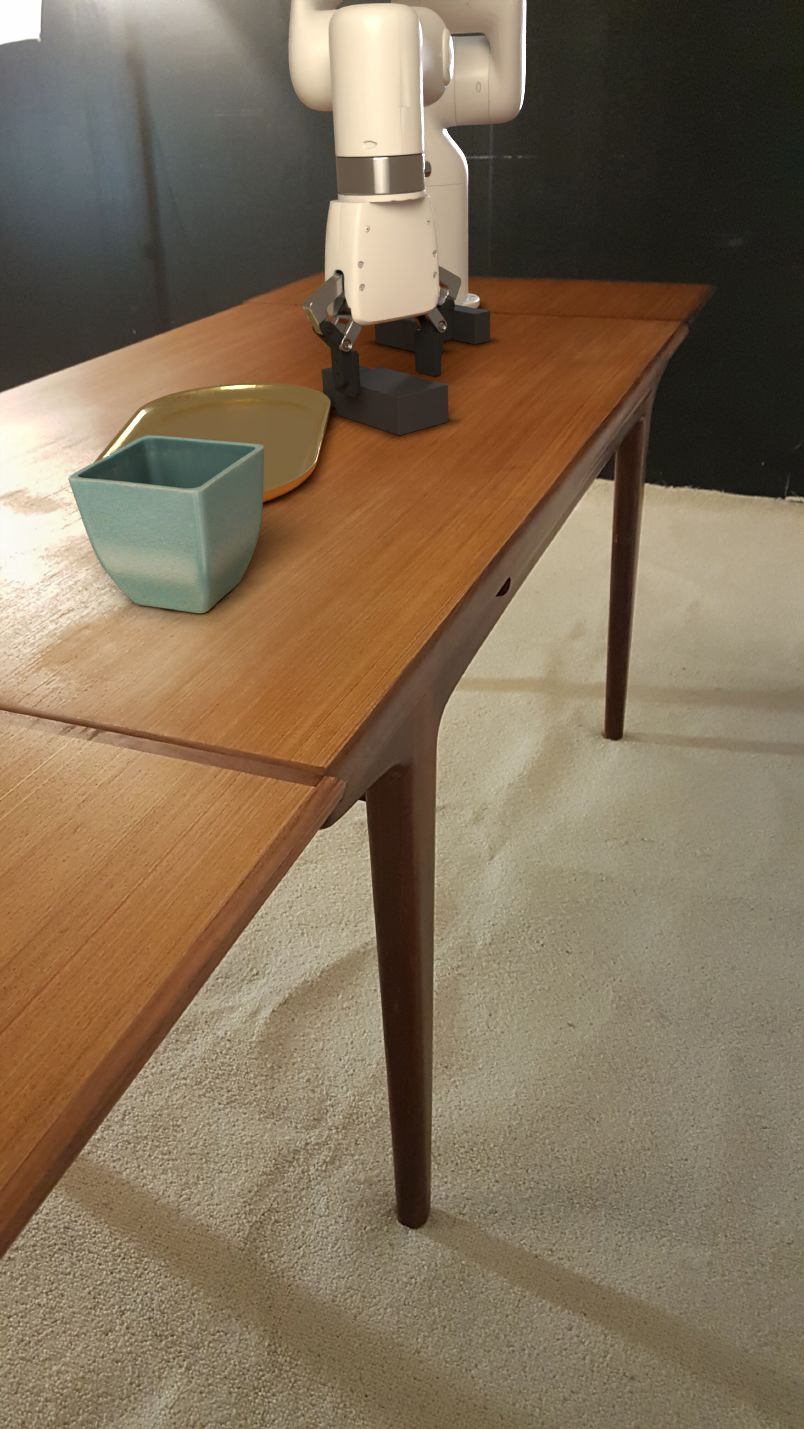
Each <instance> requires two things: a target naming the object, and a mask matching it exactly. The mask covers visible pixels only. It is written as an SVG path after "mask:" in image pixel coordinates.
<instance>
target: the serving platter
mask: <svg viewBox="0 0 804 1429" xmlns="http://www.w3.org/2000/svg"><path fill="white" fill-rule="evenodd" d="M331 411H332V407H331V400H330V399H329V397H328V396H327V395H325V394H324V393H323V391H322V392H321V391H320V390H317V389H314V388H311V387H306V386H304V385H303V386H302V385H297V384H290V383H289V384H288V383H279V382H278V383H277V382H276V383H275V382H240V383H226V384H216V385H208V386H202V387H196V388H190V389H186V390H185V389H184V390H181V391H178V392H174V393H170V394H167V395H163V396H161V397H160V396H159V397H158V398H155V399H153V400H151V401H149V402H147V403H145V404H143V405H142V406H140V407H139V408H138V409H137V410H136V411H135V412H134V413H133V415H132V416H131V417H130V418H129V419H128V421H127V422H126V423H125V424H124V425H123V426H122V428H121V429H120V430H119V432H118V433H116V435H115V436H114V437H113V438H112V440H111V441H110V442H109V444H107V446H106V447H105V448H104V450H103V451H102V452H101V453H100V454H99V455H98V456H97V457H96V459H95V460H94V461H93V463H94V462H96V461H98V460H100V459H102V458H104V457H106V456H107V455H109V454H111V453H113V452H115V451H117V450H118V449H120V448H122V447H123V446H126V445H127V444H129V443H130V442H132V441H134V440H136V439H138V438H141V437H143V436H146V435H158V436H169V437H182V438H194V439H205V440H215V441H227V442H239V443H252V444H261V445H263V446H264V477H263V504H264V503H266V502H270V501H273V500H274V499H277V498H280V497H282V496H283V495H286V494H288V493H289V492H291V491H293V490H294V489H296V488H297V487H298V486H300V485H301V484H303V483H304V482H305V481H306V480H307V479H308V478H309V477H310V475H311V474H312V473H313V472H314V470H315V468H316V466H317V464H318V460H319V457H320V453H321V448H322V444H323V441H324V438H325V434H326V429H327V426H328V423H329V422H328V421H329V418H330V414H331Z"/></svg>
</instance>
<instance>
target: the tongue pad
mask: <svg viewBox="0 0 804 1429" xmlns="http://www.w3.org/2000/svg"><path fill="white" fill-rule="evenodd" d="M359 372H360V390H361V392H360V394H359V395H358V396H354V397H352V396H349V395H346V394H342V393H339V392H336V390H335V387H334V382H333V376H332V366H330V367H327V368H322V369H321V380H322V381H321V382H322V393H324V394H325V395H327V396H328V397H329V399H330V400H331V409H334V411H335V415H337V416H339V417H342V418H345V419H348V420H351V421H355V422H358V423H360V424H362V425H363V424H364V425H366V426H369V427H372V428H376V429H377V430H378V429H379V430H381V431H384V432H387V433H390V434H393V435H396V436H403V435H406V434H410V433H414V432H417V431H422V430H424V429H428V428H429V429H430V428H432V427H435V426H440V425H443V424H446V423H449V385H448V384H446V383H444V382H440V381H436V380H432V379H430V378H429V379H428V378H425V377H420V376H418V375H413V374H410V373H406V372H402V371H399V370H395V369H392V368H388V367H383V366H379V367H375V368H370V367H366V366H362V365H359Z"/></svg>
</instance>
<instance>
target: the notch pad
mask: <svg viewBox="0 0 804 1429" xmlns="http://www.w3.org/2000/svg"><path fill="white" fill-rule="evenodd" d="M417 329H420V326H419V325H418V324H417V322H416V321H415V319H414V318H413V317H411V318H406V319H401V320H395V321H390V322H385V323H379V324H374V337H375V343H376V344H379V345H383V346H387V347H392V348H396V349H399V350H403V351H408V352H411V353H412V352H413V353H415V340H414V334H415V330H417ZM450 340H454V341H457V342H462V343H467V344H470V345H471V344H472V345H479V344H483V343H487V342H491V310H487V309H483V308H482V309H481V308H478V307H477V308H472V307H466V306H461V305H456V304H455V308H454V310H453V312H452V314H451V315H450V317H449V318H448V320H447V328H446V330H445V331H444V332H442V333H441V353H443V352H444V350H445V349H444V342H446V341H447V342H448V341H450Z"/></svg>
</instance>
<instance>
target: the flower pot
mask: <svg viewBox="0 0 804 1429" xmlns="http://www.w3.org/2000/svg"><path fill="white" fill-rule="evenodd" d="M263 477H264V446H263V445H261V444H252V443H239V442H227V441H215V440H205V439H194V438H182V437H169V436H158V435H146V436H143V437H141V438H138V439H136V440H134V441H132V442H130V443H129V444H127V445H126V446H123V447H122V448H120V449H118V450H117V451H115V452H113V453H111V454H109V455H107V456H106V457H104V458H102V459H100V460H98V461H96V462H94V461H93V463H90V464H88V465H87V466H85V467H83V468H81V469H79V470H77V471H76V472H74V473H72V474H71V475H70V476H68V478H67V479H68V483H69V485H70V488H71V491H72V492H71V493H72V494H73V497H74V500H75V502H76V506H77V509H78V511H79V515H80V518H81V520H82V523H83V527H84V529H85V532H86V535H87V537H88V540H89V543H90V545H91V548H92V550H93V552H94V554H95V557H96V558H97V560H98V562H99V563H100V565H101V567H102V568H103V570H104V571H105V573H106V574H107V575H108V577H109V578H110V579H111V580H112V582H113V583H114V584H115V585H116V586H117V587H118V589H120V590H121V591H122V592H123V593H124V594H125V595H126V596H127V597H128V598H129V599H130V600H131V601H132V602H133V603H134V604H136V605H140V606H145V607H152V608H161V609H167V610H174V611H181V612H186V613H193V614H194V613H195V614H205V613H207V612H208V611H210V610H211V609H212V608H214V606H215V605H216V604H218V602H220V601H221V600H222V599H223V598H225V596H226V595H227V594H229V593H230V592H231V591H232V590H233V589H234V588H235V587H236V586H238V585H239V583H240V582H241V581H242V578H244V577H243V576H244V575H245V573H246V571H247V569H248V567H249V564H250V562H251V560H252V558H253V556H254V553H255V550H256V547H257V543H258V540H259V536H260V532H261V527H262V521H263V509H264V508H263V505H264V503H263Z"/></svg>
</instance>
